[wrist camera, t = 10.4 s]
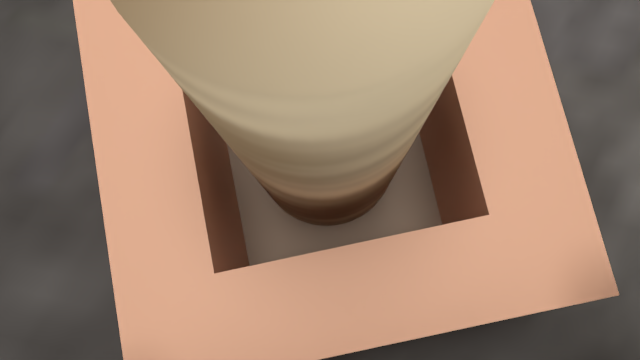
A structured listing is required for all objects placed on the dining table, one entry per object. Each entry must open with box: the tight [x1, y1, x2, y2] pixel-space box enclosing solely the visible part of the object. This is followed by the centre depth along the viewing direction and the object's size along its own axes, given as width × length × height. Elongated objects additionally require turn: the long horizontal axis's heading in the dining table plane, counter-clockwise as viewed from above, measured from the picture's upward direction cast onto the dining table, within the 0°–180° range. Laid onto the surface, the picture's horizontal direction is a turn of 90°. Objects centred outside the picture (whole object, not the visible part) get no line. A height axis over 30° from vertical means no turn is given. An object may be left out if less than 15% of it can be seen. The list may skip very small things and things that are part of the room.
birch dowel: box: [110, 0, 495, 226], centre depth 11 cm, size 4×4×12 cm
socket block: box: [73, 0, 619, 360], centre depth 15 cm, size 10×10×6 cm
